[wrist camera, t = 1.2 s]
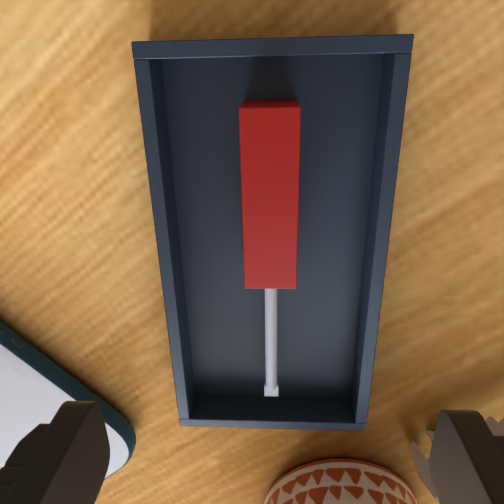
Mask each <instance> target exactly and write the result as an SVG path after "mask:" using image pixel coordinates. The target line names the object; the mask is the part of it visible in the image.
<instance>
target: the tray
mask: <svg viewBox="0 0 504 504" xmlns="http://www.w3.org/2000/svg"><path fill="white" fill-rule="evenodd" d="M413 39H414V34H394V35H357V36H320V37H284V38H247V39H210V40H173V41H136V42H132V43H131V44H132V52H133V59H135V60H134V67H135V75H136V83H137V91H138V98H139V106H140V114H141V122H142V130H143V138H144V146H145V154H146V162H147V170H148V178H149V185H150V193H151V201H152V209H153V217H154V225H155V233H156V241H157V249H158V257H159V265H160V272H161V280H162V288H163V296H164V304H165V312H166V320H167V328H168V336H169V344H170V351H171V359H172V367H173V375H174V383H175V391H176V399H177V407H178V415H179V423H180V426H187V427H224V428H261V429H298V430H335V431H366V423H367V416H368V407H369V399H370V391H371V383H372V375H373V366H374V358H375V350H376V342H377V334H378V325H379V317H380V309H381V301H382V293H383V284H384V276H385V268H386V260H387V252H388V244H389V235H390V227H391V219H392V211H393V203H394V194H395V186H396V178H397V170H398V162H399V153H400V145H401V137H402V129H403V121H404V112H405V104H406V96H407V88H408V80H409V71H410V63H411V55H412V54H411V52H412V47H413ZM260 99H297V100H298V102H299V104H300V107H301V131H300V172H299V212H298V253H297V288H296V289H277V383H279V396H264V383H266V358H265V289H246V288H245V284H244V255H243V225H242V196H241V166H240V137H239V107H240V106H241V105H242V103H243V102H244V100H260Z"/></svg>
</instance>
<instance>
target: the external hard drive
mask: <svg viewBox="0 0 504 504" xmlns="http://www.w3.org/2000/svg"><path fill="white" fill-rule="evenodd" d="M65 401H98V402H99V403H100V405H101V408H102V412H103V417H104V421H105V426H106V431H107V435H108V440H109V444H110V461H109V466H108V470H107V474H106V476H105V479H106V478H108V477H109V476H111V475H112V474H114V473H115V472H117V471H118V470H119V469H121V468H122V467H123V466H124V465H126V463H127V462H128V461H129V459H130V458H131V456H132V453H133V451H134V447H135V444H136V435H135V433H134V430H133V428H132V426H131V425H130V423H129V422H128V421H127V420H126V419H125V418H124V417H123V416H122V415H121V414H120V413H119V412H118V411H117V410H115V409H114V408H113V407H112V406H110V405H109V404H108V403H106V402H105V401H104V400H103V399H101V398H100V397H99V396H97V395H96V394H95V393H93V392H92V391H91V390H90V389H88V388H87V387H86V386H84V385H83V384H82V383H80V382H79V381H78V380H77V379H75V378H74V377H73V376H71V375H70V374H69V373H67V372H66V371H65V370H64V369H62V368H61V367H60V366H58V365H57V364H56V363H54V362H53V361H52V360H51V359H49V358H48V357H47V356H45V355H44V354H43V353H41V352H40V351H39V350H38V349H36V348H35V347H34V346H32V345H31V344H30V343H28V342H27V341H26V340H25V339H23V338H22V337H21V336H19V335H18V334H17V333H15V332H14V331H13V330H12V329H10V328H9V327H8V326H6V325H5V324H4V323H2V322H1V321H0V468H2V467H4V466H5V462H6V460H7V459H8V457H9V456H10V454H11V453H12V451H13V450H14V448H15V447H16V445H17V444H18V442H19V441H20V440H21V439H23V438H24V437H25V436H26V435H27V434H28V433H29V432H31V431H32V430H33V429H34V428H35V427H36V426H38V425H39V424H40V423H42V424H50V422H51V421H52V419H53V417H54V416H55V414H56V413H57V411H58V409H59V408H60V406H61V405H62V404H63V403H64V402H65ZM105 479H104V480H105Z"/></svg>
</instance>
